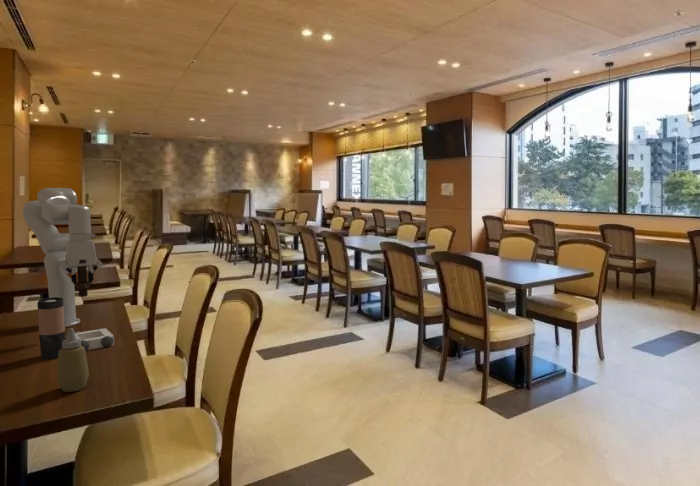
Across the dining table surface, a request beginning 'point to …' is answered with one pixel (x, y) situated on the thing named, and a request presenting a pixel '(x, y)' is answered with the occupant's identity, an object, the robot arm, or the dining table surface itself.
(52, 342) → the travel mug
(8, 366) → the dining table surface
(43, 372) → the dining table surface
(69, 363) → the squeeze bottle
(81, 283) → the bolt
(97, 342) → the chassis
